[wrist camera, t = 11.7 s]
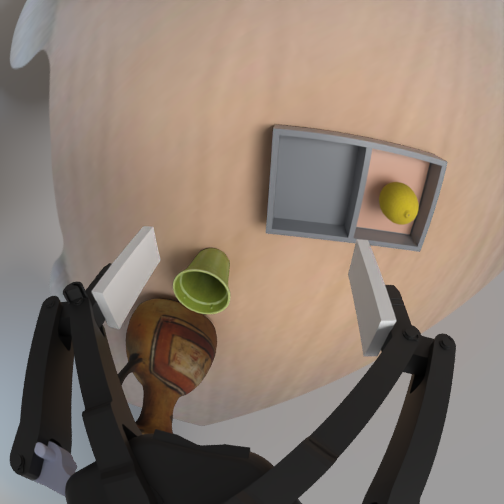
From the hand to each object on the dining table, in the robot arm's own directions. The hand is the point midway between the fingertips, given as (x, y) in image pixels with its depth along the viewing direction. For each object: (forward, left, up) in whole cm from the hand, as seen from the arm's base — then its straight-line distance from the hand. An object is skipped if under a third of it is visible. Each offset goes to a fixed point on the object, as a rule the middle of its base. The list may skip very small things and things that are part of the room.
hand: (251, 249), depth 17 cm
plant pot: (+20, -9, -25) cm, 33 cm away
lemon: (+3, +18, -24) cm, 30 cm away
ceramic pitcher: (+38, -18, -25) cm, 49 cm away
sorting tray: (+3, +12, -25) cm, 28 cm away
